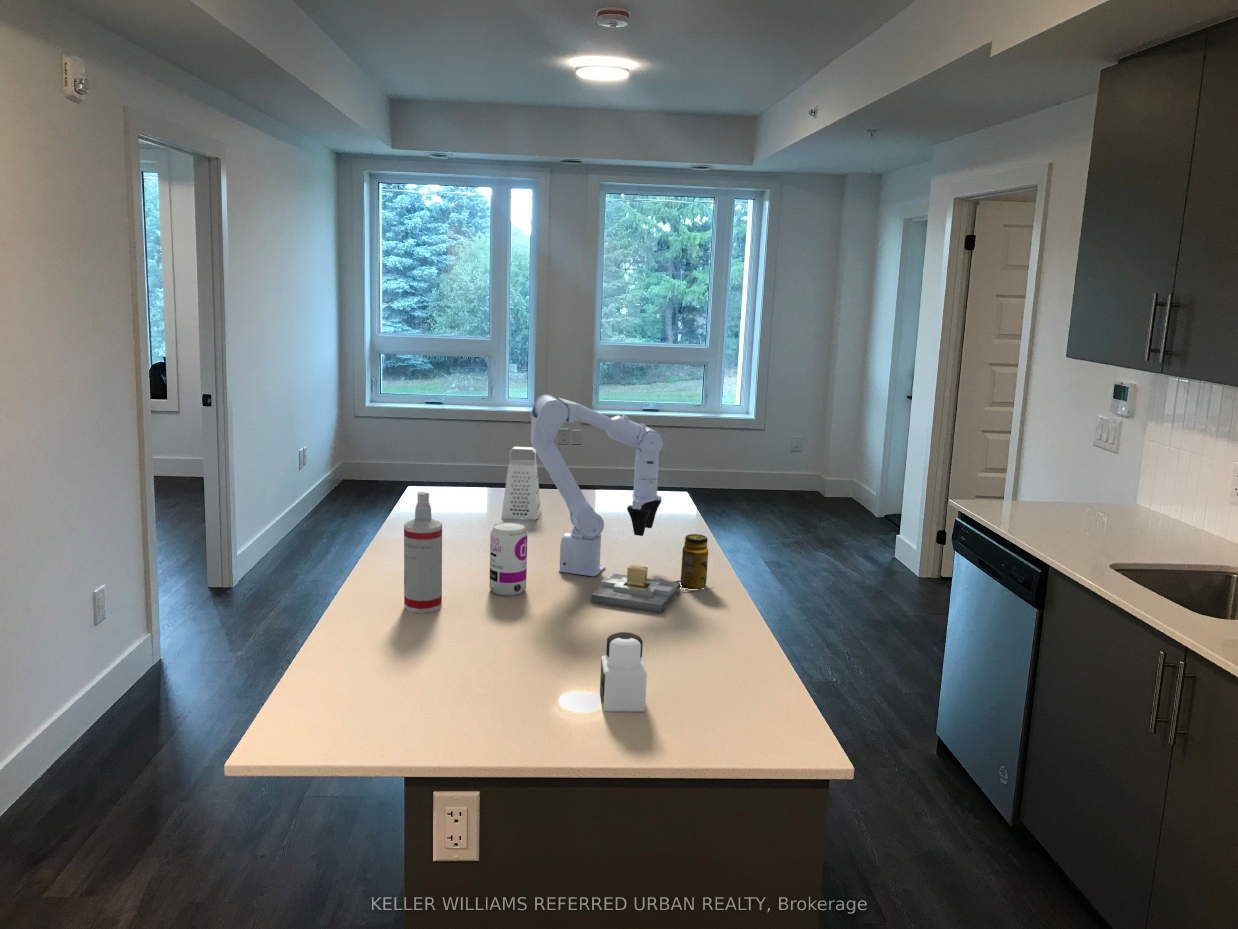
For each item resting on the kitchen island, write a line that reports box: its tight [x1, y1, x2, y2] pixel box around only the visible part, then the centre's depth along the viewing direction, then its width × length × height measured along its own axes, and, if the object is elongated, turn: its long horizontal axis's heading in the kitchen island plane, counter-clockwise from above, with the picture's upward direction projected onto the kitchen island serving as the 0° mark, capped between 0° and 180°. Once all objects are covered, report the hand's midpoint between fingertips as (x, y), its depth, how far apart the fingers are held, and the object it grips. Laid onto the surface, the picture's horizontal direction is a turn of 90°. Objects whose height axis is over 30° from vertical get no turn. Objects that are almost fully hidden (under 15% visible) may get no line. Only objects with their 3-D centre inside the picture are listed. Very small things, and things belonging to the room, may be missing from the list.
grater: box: [501, 446, 542, 520], centre depth 278 cm, size 10×10×20 cm
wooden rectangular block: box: [626, 564, 649, 588], centre depth 213 cm, size 4×2×7 cm, turn 72°
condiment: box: [673, 533, 714, 593], centre depth 222 cm, size 7×8×12 cm
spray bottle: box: [403, 491, 443, 614], centre depth 199 cm, size 8×8×25 cm
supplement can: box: [489, 521, 529, 596], centre depth 213 cm, size 8×8×15 cm
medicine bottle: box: [599, 631, 648, 713], centre depth 160 cm, size 7×7×12 cm
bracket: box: [600, 577, 673, 596], centre depth 213 cm, size 16×7×1 cm, turn 72°
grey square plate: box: [590, 573, 681, 615], centre depth 213 cm, size 16×16×2 cm
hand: (643, 531), depth 233 cm, fingers open, 7 cm apart
